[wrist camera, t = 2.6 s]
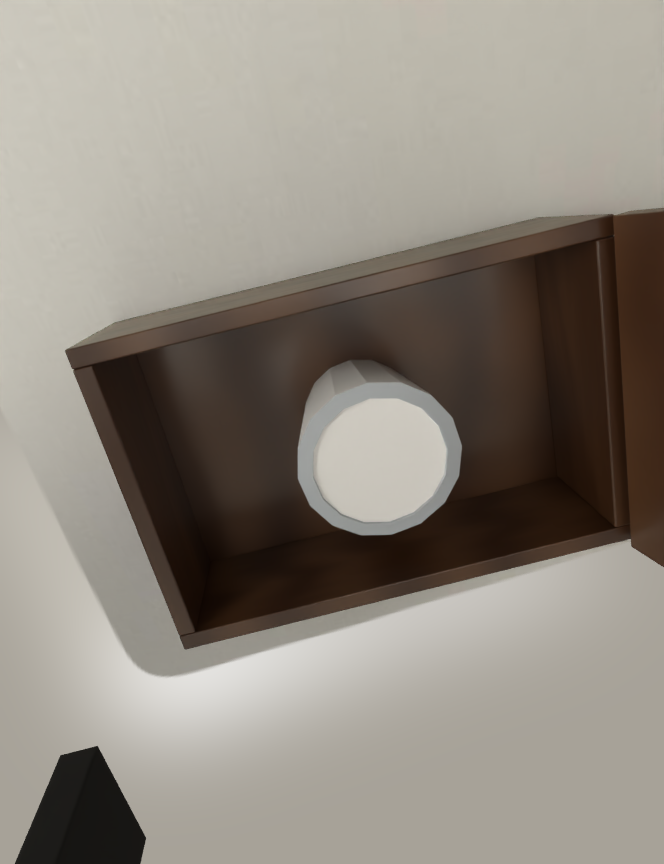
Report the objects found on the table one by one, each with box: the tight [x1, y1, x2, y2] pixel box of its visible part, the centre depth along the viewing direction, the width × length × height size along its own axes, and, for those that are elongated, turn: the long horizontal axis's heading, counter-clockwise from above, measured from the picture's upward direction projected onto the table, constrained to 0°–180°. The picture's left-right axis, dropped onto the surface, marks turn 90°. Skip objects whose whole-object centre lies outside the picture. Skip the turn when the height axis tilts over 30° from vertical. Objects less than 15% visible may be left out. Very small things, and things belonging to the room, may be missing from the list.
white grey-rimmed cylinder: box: [298, 360, 462, 535], centre depth 27 cm, size 7×7×7 cm
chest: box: [65, 214, 631, 649], centre depth 27 cm, size 22×15×7 cm
